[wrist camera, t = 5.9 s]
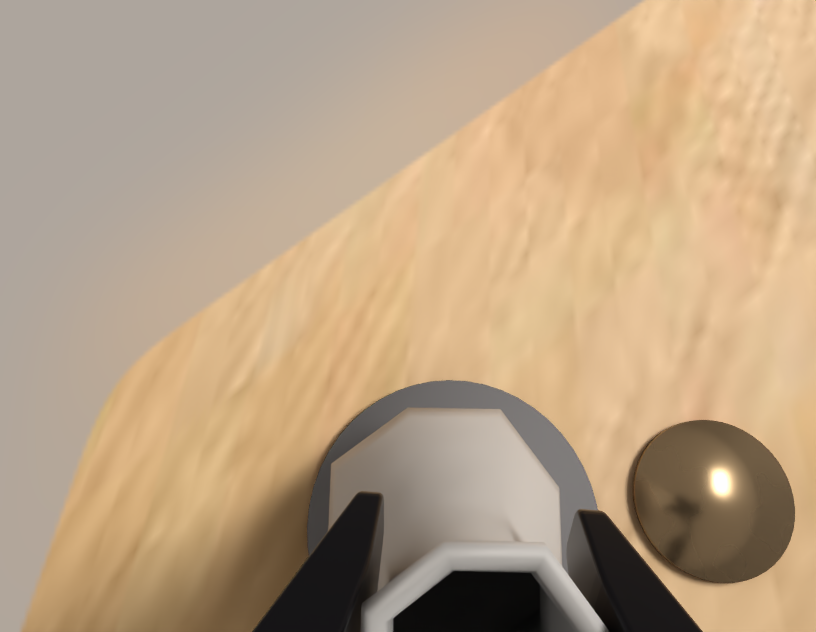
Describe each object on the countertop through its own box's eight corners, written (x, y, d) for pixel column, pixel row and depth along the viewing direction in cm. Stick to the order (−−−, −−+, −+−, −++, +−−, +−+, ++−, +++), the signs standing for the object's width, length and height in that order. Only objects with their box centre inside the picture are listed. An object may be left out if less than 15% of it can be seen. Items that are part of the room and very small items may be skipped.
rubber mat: (568, 732, 16) (571, 737, 16) (271, 637, 17) (268, 640, 17) (619, 420, 18) (622, 419, 18) (354, 353, 19) (353, 351, 19)
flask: (516, 373, 17) (656, 303, 7) (601, 610, 15) (920, 934, 6) (297, 443, 17) (123, 474, 7) (363, 692, 15) (265, 1186, 5)
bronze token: (783, 601, 17) (788, 603, 16) (621, 556, 17) (624, 557, 17) (796, 442, 18) (800, 441, 18) (644, 404, 18) (646, 403, 18)
